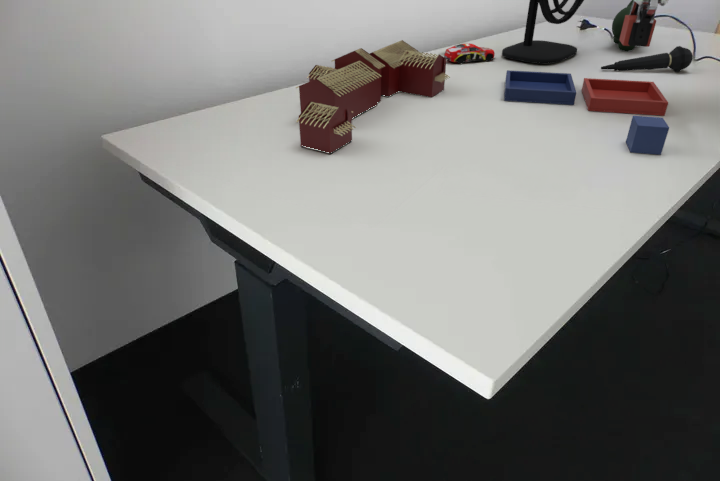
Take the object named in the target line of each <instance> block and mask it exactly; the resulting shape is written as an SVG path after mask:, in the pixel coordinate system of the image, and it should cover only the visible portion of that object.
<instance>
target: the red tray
mask: <svg viewBox="0 0 720 481" xmlns="http://www.w3.org/2000/svg"><path fill="white" fill-rule="evenodd" d="M581 93H582V96H583V99H584V102H585V105H586V109H587V111H588V112H599V113H612V114H613V113H616V114H630V115H642V116H645V115H646V116H658V115H659V117H660V116H661V117H666V116H665V115H666V112H667V109H668V106H669V101H668V99H667V98H666V97H665V95H664V94H663V93H662V92H661V90H660V89H659V87H658V86H657V85H656V83H655V82H654V81H649V80H648V81H647V80H646V81H645V80H643V81H642V80H628V79H627V80H626V79H611V78H610V79H609V78H608V79H607V78H592V77H591V78H589V77H584V78H583V81H582V86H581Z"/></svg>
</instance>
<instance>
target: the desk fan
mask: <svg viewBox="0 0 720 481" xmlns="http://www.w3.org/2000/svg"><path fill="white" fill-rule="evenodd" d="M584 1H585V0H574V2H573V4H572V5H571V6H570V8H569V10H567V11H565V10H563V8H564V7H565V6H566V5H567V3H568V2H569V0H562V1H561V2H559V0H552V2H553V6H554V8H552V9H551V6H550V3H549V0H529V3H528V8H527V9H528V10H527V16H526V21H525V22H526V23H525V28H524V29H525V30H524V36H523V41H521V42H518V43H514V44H512V45H510V46H506V47H505V48H503V49H502V51H501V55H502V56H503V57H504V58H506V59H509V60H515V61H520V62H525V63H530V64H538V65H539V64H541V65H543V64H546V65H547V64H554V63H559V62H562V61H564V60H567V59H569V58H571V57H573V56H576V54H577V53H578V47H577V46H575V45H572V44H568V43H561V42H556V41H549V40H534V34H535V28H536V21H537V16H538V8H540V12H541V14H542V16H543V18H544V20H545V21H547V22H548V23H549V24H552V25H562V24H565V23H566V22H568V21H569V20H570V19H571V18H573V16H574V15H575V14H576V12H577V11H578V9H580V8H581V6H582V4H583V3H584ZM556 13H558V14H560V15H562V17H560V18H557V17H556V16H555V15H554V14H556Z"/></svg>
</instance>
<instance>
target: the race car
mask: <svg viewBox="0 0 720 481" xmlns="http://www.w3.org/2000/svg"><path fill="white" fill-rule="evenodd" d="M443 55H444V56H443V57H444V58H446V59H447V60H446V61H449V62H452V63H457V64H459V63H462V64H464V63H469V62H478V61H480V62H481V61H486V62H491V61H492V60H493V59H494V58H495V55H496V54H495V50H494V49H492V48H489V47H485V46H478V45H476V44H474V43H471V42H470V43H468V42H467V43H459V44H456V45H453V46H451V47H448V48H447V49H445V51H444V54H443Z"/></svg>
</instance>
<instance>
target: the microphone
mask: <svg viewBox="0 0 720 481" xmlns="http://www.w3.org/2000/svg"><path fill="white" fill-rule="evenodd" d="M693 59H694V58H693V53H692V51H691V49H689V48H688V47H683V46H681V45H678V46H675V47H674V48H673V49H671V51H670V52H669V53H668V52H663V53H657V54H652V55H645V56H640V57H639V56H638V57H634V58H628V59H623V60H618V61H615V62H613V63H611V64H606V65H603V66H601V67H600V70H613V71H614V72H617V71H618V72H627V71H649V70H651V71H652V70H659V69H660V70H661V69H663V70H664V69H670V70H672V71H673V72H675V73H679V72H681V71H683V70H685V69H687V68H689V66H690V65H691V64H692V62H693Z"/></svg>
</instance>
